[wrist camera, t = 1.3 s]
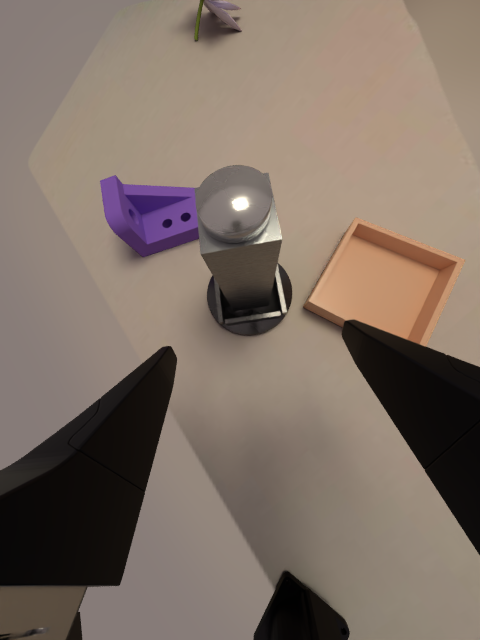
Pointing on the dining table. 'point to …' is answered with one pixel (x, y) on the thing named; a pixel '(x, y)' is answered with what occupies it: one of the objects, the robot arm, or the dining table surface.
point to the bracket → (150, 215)
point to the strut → (239, 234)
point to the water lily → (217, 13)
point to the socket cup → (256, 317)
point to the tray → (385, 282)
